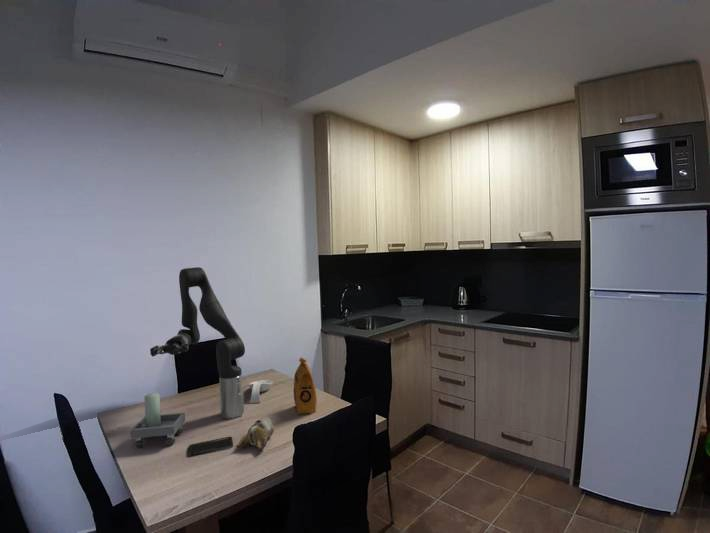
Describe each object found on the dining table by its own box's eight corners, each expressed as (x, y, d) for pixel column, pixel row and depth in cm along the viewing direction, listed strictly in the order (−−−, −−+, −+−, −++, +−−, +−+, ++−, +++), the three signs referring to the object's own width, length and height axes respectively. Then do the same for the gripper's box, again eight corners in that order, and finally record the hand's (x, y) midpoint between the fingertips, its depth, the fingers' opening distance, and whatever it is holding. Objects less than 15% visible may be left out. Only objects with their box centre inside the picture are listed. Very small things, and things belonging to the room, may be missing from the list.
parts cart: (185, 431, 148) (184, 412, 148) (174, 446, 136) (173, 426, 136) (145, 434, 146) (144, 416, 146) (131, 450, 134) (130, 430, 134)
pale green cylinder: (162, 423, 144) (161, 392, 143) (157, 429, 139) (156, 397, 138) (149, 424, 143) (147, 393, 143) (143, 430, 138) (142, 398, 138)
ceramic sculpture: (280, 412, 142) (259, 433, 128) (281, 434, 143) (261, 457, 129) (255, 410, 145) (232, 430, 131) (257, 431, 146) (234, 454, 132)
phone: (188, 444, 136) (231, 436, 142) (189, 447, 136) (232, 438, 142) (187, 455, 129) (233, 445, 134) (188, 458, 129) (233, 448, 134)
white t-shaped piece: (251, 387, 198) (250, 373, 197) (273, 385, 199) (273, 372, 199) (243, 404, 174) (242, 389, 174) (268, 402, 175) (268, 387, 175)
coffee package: (294, 416, 159) (292, 365, 158) (293, 404, 171) (292, 357, 171) (317, 413, 161) (316, 363, 160) (315, 402, 173) (313, 355, 172)
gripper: (160, 337, 169) (144, 345, 153) (193, 335, 171) (181, 343, 155) (161, 353, 169) (145, 363, 153) (193, 351, 171) (182, 361, 155)
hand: (163, 353), depth 154 cm, fingers open, 8 cm apart
